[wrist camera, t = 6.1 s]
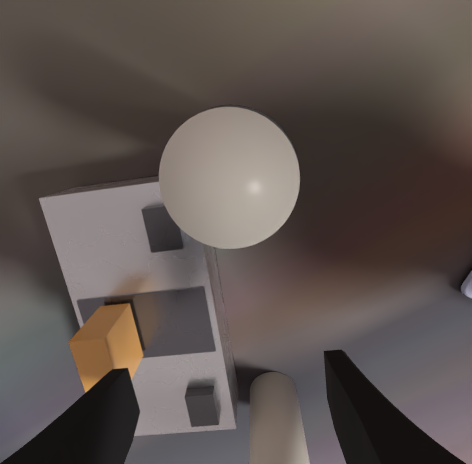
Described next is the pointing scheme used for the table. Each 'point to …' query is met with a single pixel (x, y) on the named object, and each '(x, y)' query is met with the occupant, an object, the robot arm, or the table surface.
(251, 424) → the cable post
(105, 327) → the block
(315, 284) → the table surface
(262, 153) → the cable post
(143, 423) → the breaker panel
